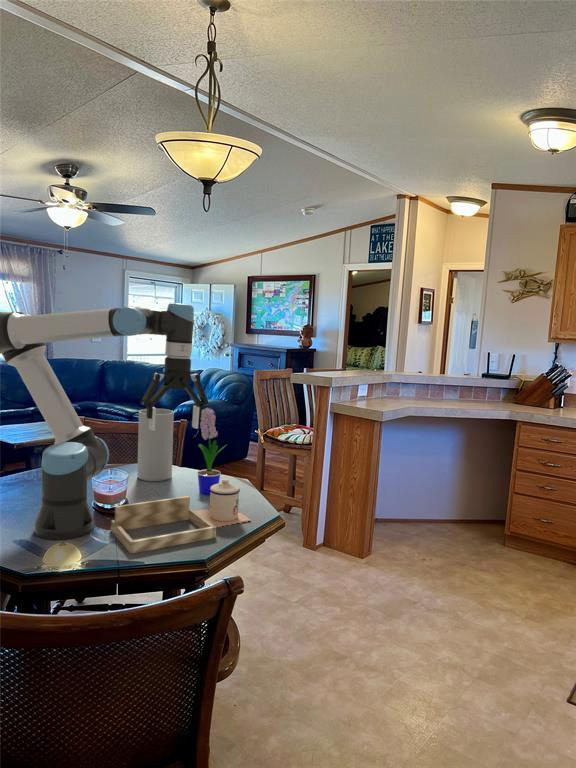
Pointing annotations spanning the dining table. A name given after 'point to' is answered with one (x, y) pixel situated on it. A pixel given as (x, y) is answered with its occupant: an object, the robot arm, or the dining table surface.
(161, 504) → the frame
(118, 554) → the dining table surface
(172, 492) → the dining table surface
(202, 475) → the hyacinth
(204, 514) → the terracotta tile
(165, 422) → the cylinder vase
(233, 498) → the teacup with lid
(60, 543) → the dining table surface
